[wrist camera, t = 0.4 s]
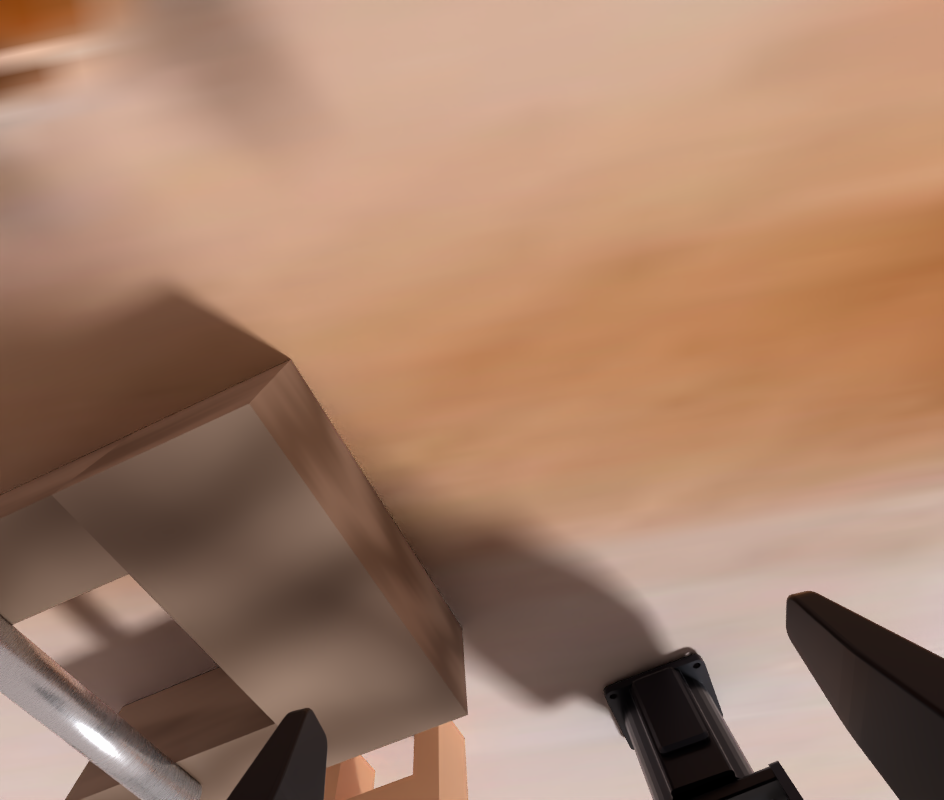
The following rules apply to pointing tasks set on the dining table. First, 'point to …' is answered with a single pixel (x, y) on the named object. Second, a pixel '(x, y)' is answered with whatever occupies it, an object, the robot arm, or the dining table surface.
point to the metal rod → (87, 722)
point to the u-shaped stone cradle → (245, 580)
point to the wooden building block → (417, 796)
